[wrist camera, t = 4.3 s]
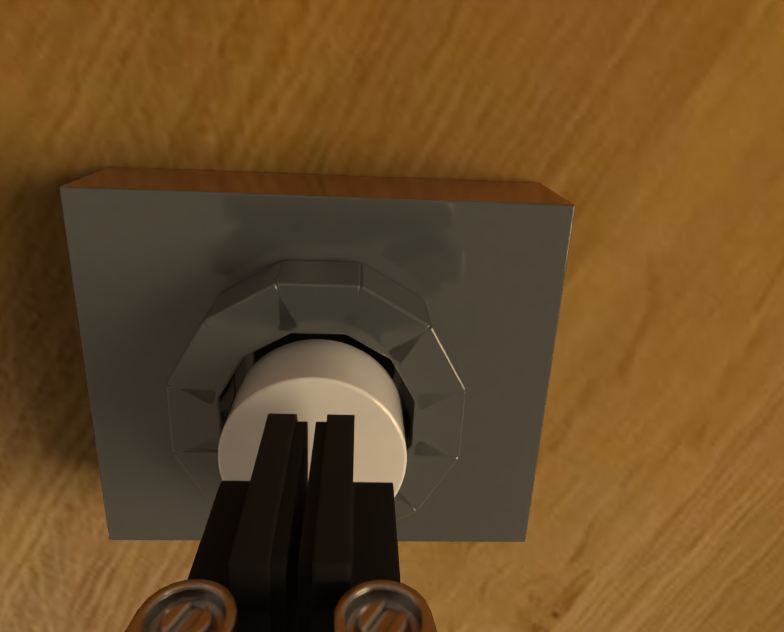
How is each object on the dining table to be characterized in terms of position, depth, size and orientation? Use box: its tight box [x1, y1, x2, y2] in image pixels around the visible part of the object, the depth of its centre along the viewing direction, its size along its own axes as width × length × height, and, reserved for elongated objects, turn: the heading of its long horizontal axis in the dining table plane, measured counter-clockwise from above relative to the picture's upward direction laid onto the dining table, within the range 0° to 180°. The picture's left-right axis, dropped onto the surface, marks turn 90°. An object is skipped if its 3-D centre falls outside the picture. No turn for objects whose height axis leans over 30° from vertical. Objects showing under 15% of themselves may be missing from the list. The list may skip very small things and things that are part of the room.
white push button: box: [218, 339, 407, 497], centre depth 14 cm, size 4×4×2 cm
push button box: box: [59, 167, 575, 542], centre depth 17 cm, size 10×12×5 cm
